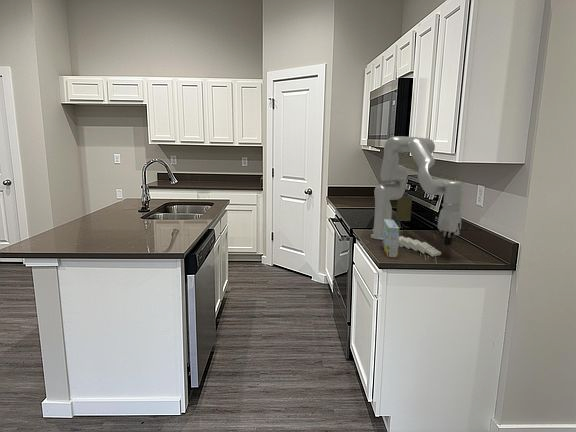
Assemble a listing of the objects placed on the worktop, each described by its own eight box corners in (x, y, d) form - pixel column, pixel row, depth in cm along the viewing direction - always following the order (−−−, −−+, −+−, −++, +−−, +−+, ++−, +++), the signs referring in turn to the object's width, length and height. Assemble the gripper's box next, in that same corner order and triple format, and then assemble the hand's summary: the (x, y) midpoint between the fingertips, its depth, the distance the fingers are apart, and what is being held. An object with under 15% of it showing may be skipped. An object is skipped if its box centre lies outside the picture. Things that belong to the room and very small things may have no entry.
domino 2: (408, 249, 212) (393, 239, 220) (416, 247, 215) (401, 238, 223) (409, 246, 211) (394, 237, 219) (417, 245, 214) (402, 235, 223)
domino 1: (402, 247, 216) (387, 242, 225) (410, 246, 219) (395, 241, 228) (402, 244, 215) (387, 239, 225) (410, 243, 218) (395, 238, 228)
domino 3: (416, 251, 208) (400, 240, 216) (423, 249, 211) (408, 239, 219) (416, 248, 207) (401, 238, 215) (424, 247, 210) (409, 237, 218)
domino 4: (423, 253, 203) (408, 243, 212) (431, 252, 206) (416, 241, 215) (424, 251, 203) (408, 240, 211) (432, 249, 206) (416, 239, 214)
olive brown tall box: (408, 221, 287) (410, 193, 283) (394, 219, 292) (396, 192, 288) (412, 219, 296) (414, 192, 292) (398, 217, 301) (400, 191, 297)
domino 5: (441, 252, 201) (425, 242, 210) (433, 254, 198) (417, 243, 207) (440, 255, 202) (424, 244, 210) (432, 256, 199) (416, 245, 207)
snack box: (381, 246, 216) (383, 218, 213) (391, 247, 215) (393, 219, 213) (386, 257, 195) (388, 227, 192) (398, 258, 195) (400, 227, 192)
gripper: (433, 205, 195) (429, 242, 198) (459, 210, 182) (455, 249, 186) (443, 204, 199) (440, 240, 202) (470, 209, 186) (466, 247, 189)
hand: (447, 244), depth 194 cm, fingers closed
